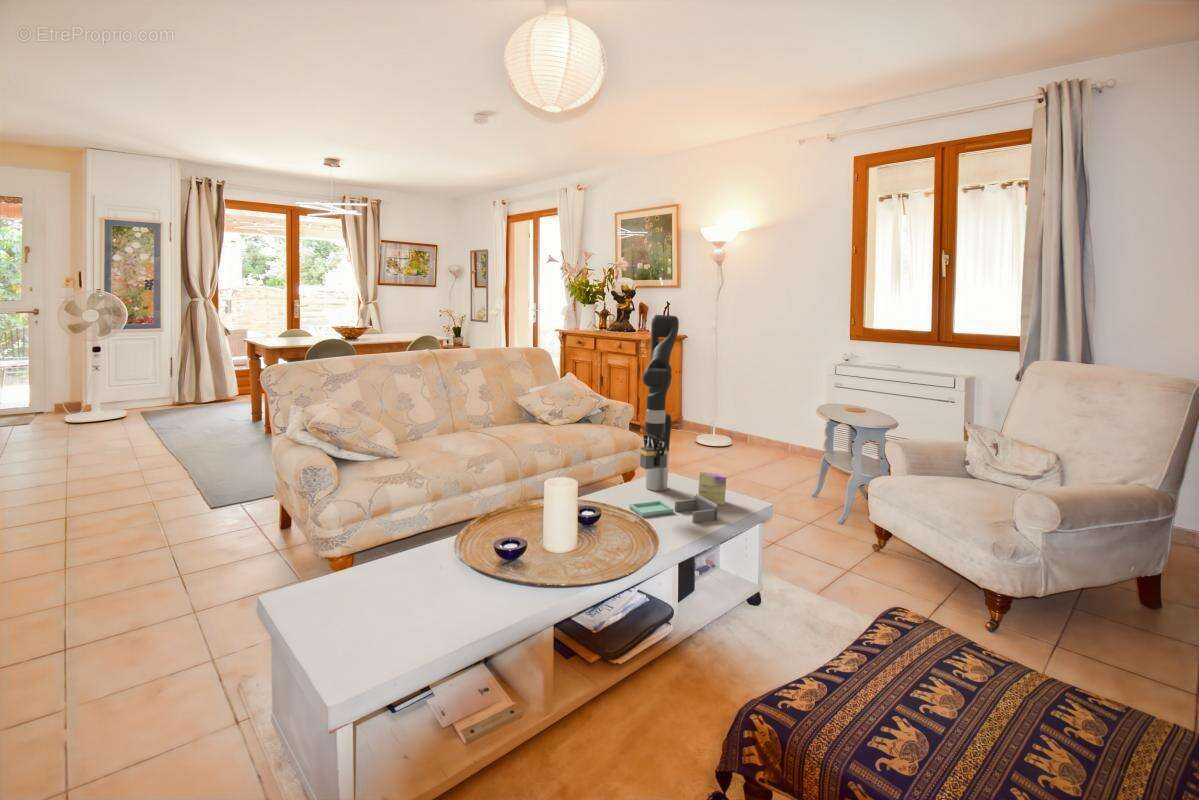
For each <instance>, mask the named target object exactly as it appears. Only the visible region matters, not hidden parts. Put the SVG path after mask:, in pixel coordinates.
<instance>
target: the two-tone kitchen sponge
mask: <svg viewBox="0 0 1199 800" xmlns="http://www.w3.org/2000/svg"><path fill="white" fill-rule="evenodd" d="M656 449H657V448H656ZM656 452H657V451H656ZM661 452H662V451H661ZM639 456H640V461H639V466H640V467H641V468H643V469H644V470H646V469H654V468H665V467H666V464H667V448H665V452H664V456H661V457H660V466H654V457H655V456H654V451H653V449H652V447H644V446H641V447H640V455H639Z"/></svg>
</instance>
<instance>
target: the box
mask: <svg viewBox="0 0 1199 800" xmlns="http://www.w3.org/2000/svg"><path fill="white" fill-rule="evenodd" d="M726 487H727V476H726V474H725V473H716V472H704V471H703V472H702V471H700V472H699V479H698V492H697V494H698V495H700V496H702V497H704V498H705V499H707V500H709V501H711V502H713V503H715V504H717V505H718V506H725V505H726V503H725V502H726V491H727V490H726V489H727V488H726Z"/></svg>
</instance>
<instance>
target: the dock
mask: <svg viewBox="0 0 1199 800" xmlns="http://www.w3.org/2000/svg"><path fill="white" fill-rule="evenodd" d="M718 506H719V505H717V504H715V503H713V502H711V501H709V500H707V499H705V498H704V497H702V496H700V495H698V493H696V494H695V496H694V497H693V498H691V499H690V498H689V499H688V498H687V499H681V500H675V501H674V512H676V513H678V512H686V511H692V523H693V524H697V523H704V522H710V521H711V522H712V521H717V520H718ZM695 510H696V511H695Z"/></svg>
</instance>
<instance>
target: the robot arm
mask: <svg viewBox="0 0 1199 800" xmlns="http://www.w3.org/2000/svg"><path fill="white" fill-rule="evenodd" d="M679 324H680V322H679V318H678V316H675V315H670V314H669V315H667V314H654V315H653V317H652V318H651V330H650V340H651V342H650V344H651V345H650V361H649V364H648V366H647V367H646V368H645V370H644V372H643V375H642V383H643V384H644V385H645V386H646V387H648V394H647V396H646V409H645V423H644V432H645V433H646V435H643V447H652V449H653V451H654V456H655V457H654V466H660V457H661V456H664V452H665V448H667V464H666V467H665V468H654V469H645V470H646V471H645V487H646V489H647V490H650V491H655V492H661V491H662V492H663V491H666V490H668V482H669V481H668V480H669V479H668V478H669V462H670V443H671V440H670V439H671V432H672V415H670V413H667V412H666V399H667V393H668V390H669V388H670V386H671V382H672V367H671V364H670V361H671V354H672V351H673V348H674V345H675V342H676V340H677V338H678V333H679V328H680V325H679ZM660 338H664V339H663V340H662V341H660ZM656 448H657V449H656ZM656 451H657V452H656ZM661 451H662V452H661Z"/></svg>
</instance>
